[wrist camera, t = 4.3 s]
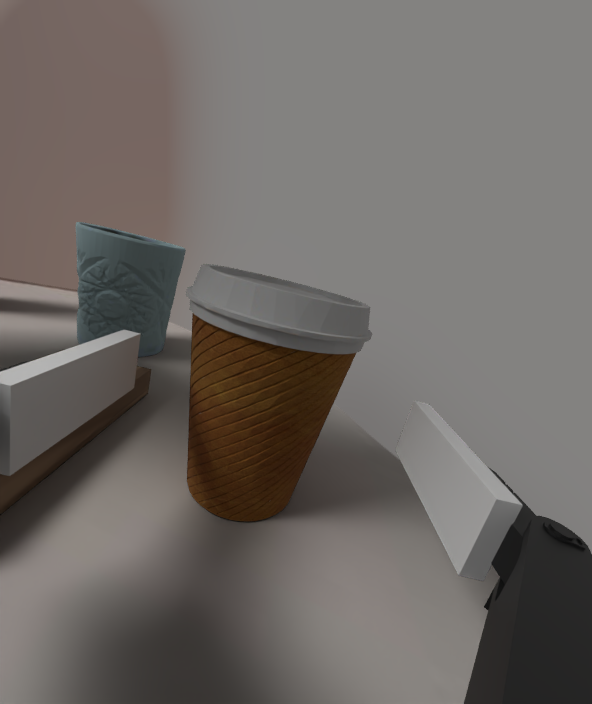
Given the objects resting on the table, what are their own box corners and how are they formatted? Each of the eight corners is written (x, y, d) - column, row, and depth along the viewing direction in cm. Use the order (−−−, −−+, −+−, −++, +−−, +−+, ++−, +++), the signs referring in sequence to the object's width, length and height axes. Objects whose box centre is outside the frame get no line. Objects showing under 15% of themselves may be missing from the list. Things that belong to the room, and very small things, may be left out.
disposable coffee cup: (129, 457, 19) (155, 251, 16) (255, 426, 26) (290, 279, 23) (213, 591, 13) (283, 297, 10) (348, 503, 20) (413, 316, 16)
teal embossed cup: (143, 329, 42) (154, 238, 39) (188, 356, 37) (205, 253, 34) (52, 331, 34) (57, 215, 31) (94, 365, 29) (106, 230, 26)
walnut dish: (-284, 529, 11) (-299, 474, 10) (63, 374, 26) (65, 348, 25) (-70, 571, 11) (-73, 521, 10) (147, 393, 26) (151, 369, 26)
